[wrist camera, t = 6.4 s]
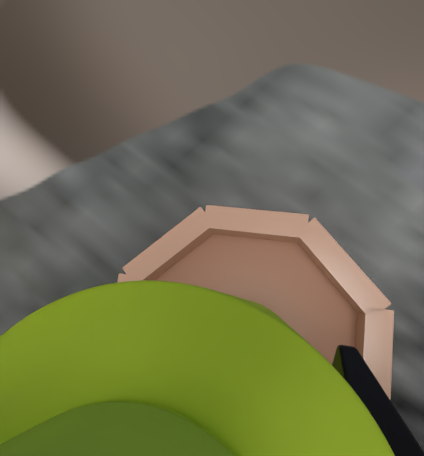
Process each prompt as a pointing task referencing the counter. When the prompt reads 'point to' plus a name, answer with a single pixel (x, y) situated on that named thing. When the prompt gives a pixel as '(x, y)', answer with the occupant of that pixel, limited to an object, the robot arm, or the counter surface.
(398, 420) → the robot arm
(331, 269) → the dish
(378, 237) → the counter surface
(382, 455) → the soap dispenser
